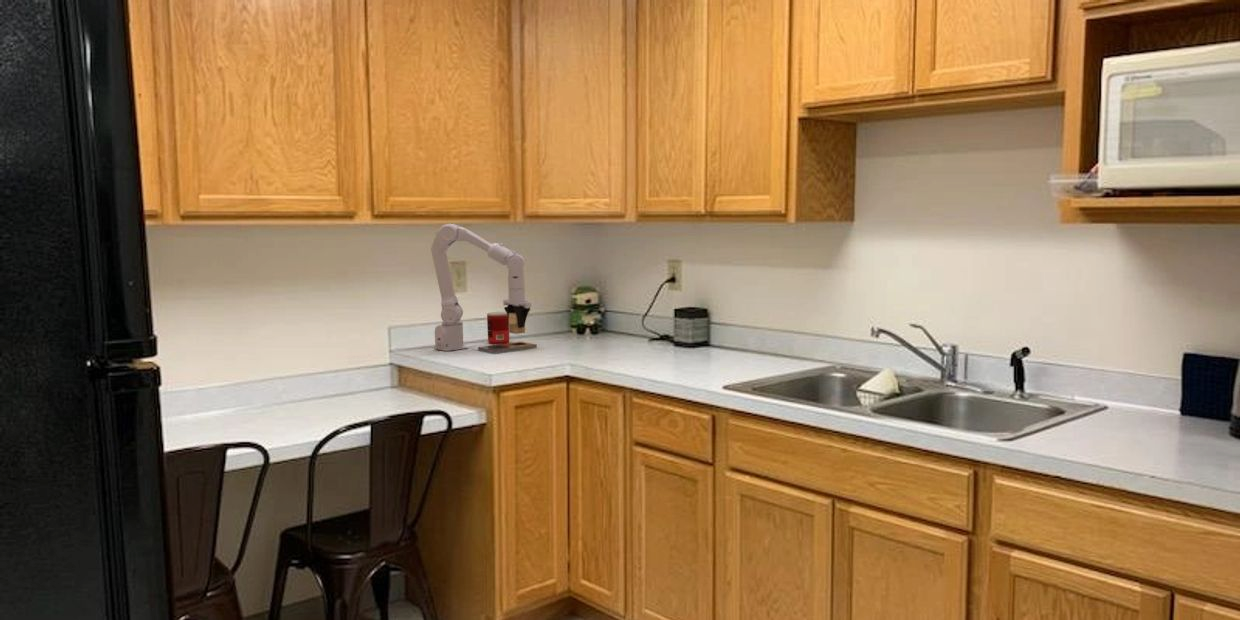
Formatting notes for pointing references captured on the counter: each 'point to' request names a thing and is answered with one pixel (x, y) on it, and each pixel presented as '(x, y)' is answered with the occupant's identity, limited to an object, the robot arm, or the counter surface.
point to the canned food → (498, 327)
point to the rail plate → (507, 347)
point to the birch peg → (514, 324)
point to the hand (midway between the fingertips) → (517, 326)
